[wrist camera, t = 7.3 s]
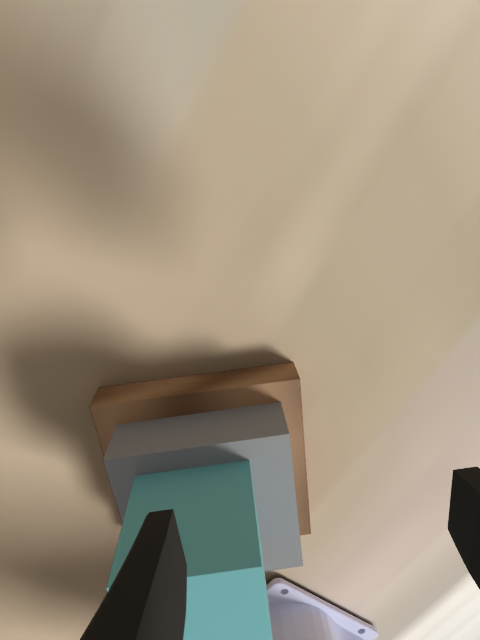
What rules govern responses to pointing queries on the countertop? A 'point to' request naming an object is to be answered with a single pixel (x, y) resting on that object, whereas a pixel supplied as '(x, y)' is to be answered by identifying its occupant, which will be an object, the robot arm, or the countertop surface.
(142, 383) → the walnut base slab
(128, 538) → the teal block
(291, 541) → the grey top slab
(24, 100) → the countertop surface
